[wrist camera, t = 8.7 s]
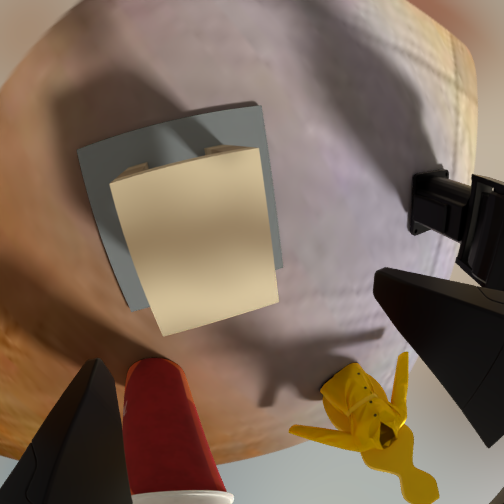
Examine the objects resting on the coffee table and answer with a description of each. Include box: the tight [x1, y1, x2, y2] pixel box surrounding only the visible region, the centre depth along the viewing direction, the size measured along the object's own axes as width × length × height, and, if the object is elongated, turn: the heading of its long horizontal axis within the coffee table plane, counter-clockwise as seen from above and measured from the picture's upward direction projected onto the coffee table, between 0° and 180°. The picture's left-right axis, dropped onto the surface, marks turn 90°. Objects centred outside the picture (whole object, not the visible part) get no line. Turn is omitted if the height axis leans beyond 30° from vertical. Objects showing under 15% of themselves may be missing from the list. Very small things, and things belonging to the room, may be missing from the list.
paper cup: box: [122, 358, 234, 504], centre depth 16 cm, size 8×8×14 cm
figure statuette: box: [289, 352, 439, 504], centre depth 23 cm, size 18×8×22 cm, turn 113°
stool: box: [109, 145, 279, 337], centre depth 14 cm, size 8×6×7 cm
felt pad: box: [77, 105, 283, 312], centre depth 18 cm, size 12×12×1 cm
